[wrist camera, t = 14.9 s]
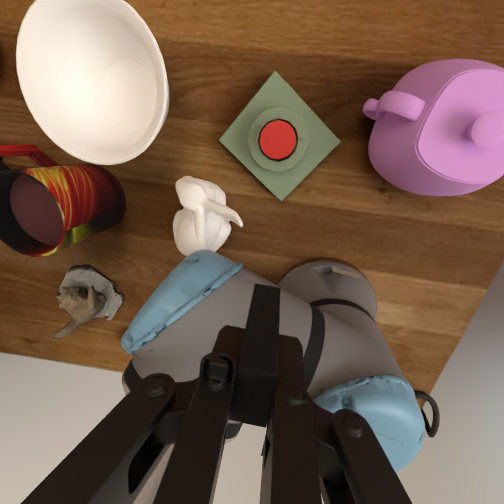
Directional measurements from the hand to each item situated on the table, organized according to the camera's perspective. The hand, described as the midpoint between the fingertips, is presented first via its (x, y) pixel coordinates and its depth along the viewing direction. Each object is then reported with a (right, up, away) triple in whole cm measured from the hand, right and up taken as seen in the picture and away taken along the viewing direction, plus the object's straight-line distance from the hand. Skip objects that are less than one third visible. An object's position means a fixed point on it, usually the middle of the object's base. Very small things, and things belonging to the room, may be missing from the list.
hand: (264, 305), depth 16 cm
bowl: (-16, +23, +20) cm, 34 cm away
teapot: (+21, +17, +17) cm, 32 cm away
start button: (+2, +16, +16) cm, 23 cm away
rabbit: (-6, +9, +24) cm, 26 cm away
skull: (-28, -4, +31) cm, 42 cm away
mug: (-26, +12, +25) cm, 38 cm away
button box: (+3, +17, +19) cm, 26 cm away
